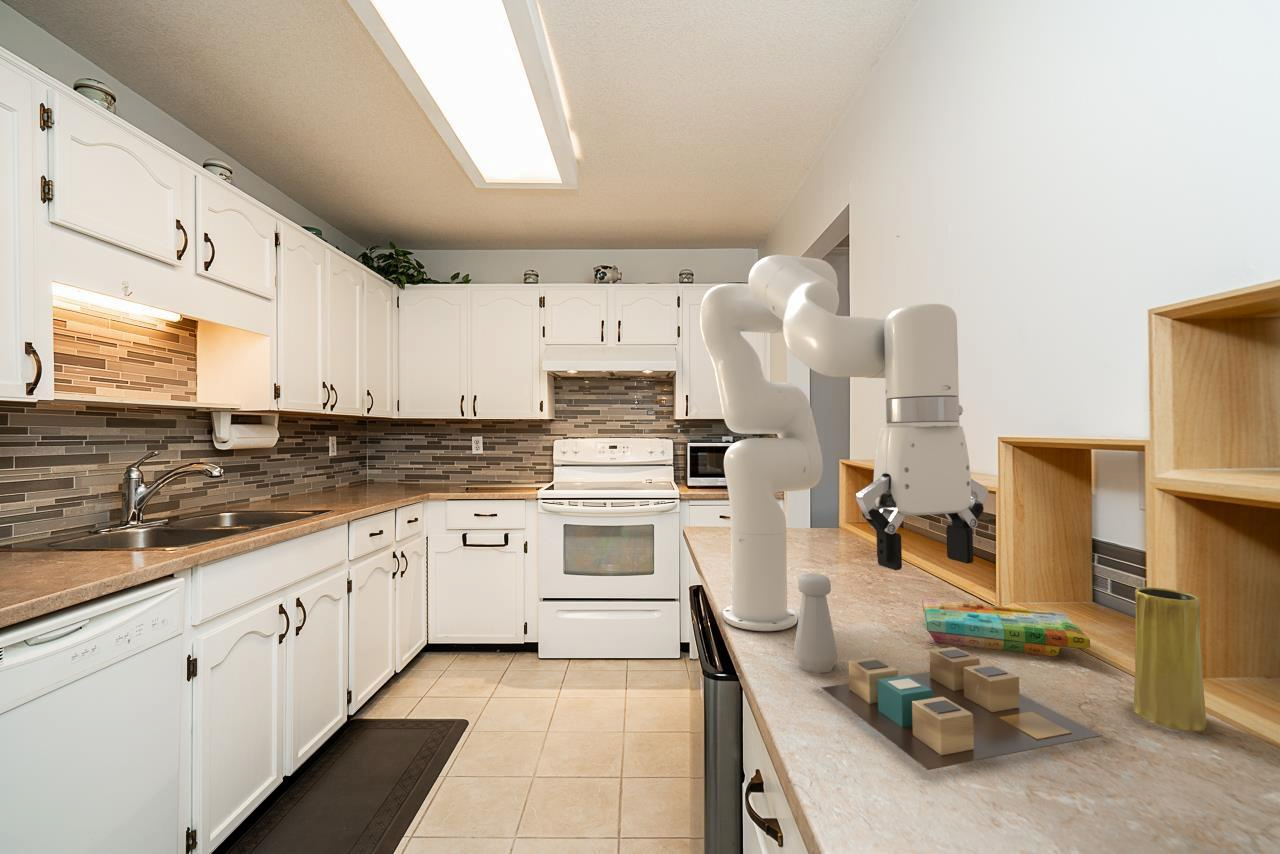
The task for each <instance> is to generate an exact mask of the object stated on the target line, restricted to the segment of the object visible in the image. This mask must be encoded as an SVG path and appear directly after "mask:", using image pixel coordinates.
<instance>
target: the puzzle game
mask: <svg viewBox="0 0 1280 854" xmlns="http://www.w3.org/2000/svg"><path fill="white" fill-rule="evenodd" d="M921 609H922V614H923V619H924V622H925V627H926V631H927V632H928V634H929V635H930V636H931V639H933V642H934V643H942V644H950V645H958V646H967V647H974V648H984V649H990V650H998V651H1008V652H1015V653H1016V652H1017V653H1023V654H1033V655H1041V656H1047V657H1048V656H1049V657H1050V656H1051V657H1056V656H1057V655H1059V654H1060V649H1061V648H1062V649H1074V650H1075V649H1076V650H1087V649H1089V648H1091V640H1090V638H1089V637H1088V636H1087V635H1086V634H1085V633H1084V632H1083V631H1082V630H1081V629H1080V628H1079V627H1078V625H1076V624H1075V623H1074V622H1073V621H1072V620H1071V619H1070V618H1069V616H1067V615H1066V614H1065V613H1064V612H1054V611H1047V610H1045V611H1044V610H1036V609H1027V608H1017V607H1010V606H1009V607H1007V606H997V605H989V604H983V603H979V602H976V601H973V600H968V601H967V602H966V601H962V602H959V601H953V600H952V601H950V600H941V599H931V598H925V599H922V600H921Z"/></svg>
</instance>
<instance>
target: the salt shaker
mask: <svg viewBox="0 0 1280 854" xmlns="http://www.w3.org/2000/svg"><path fill="white" fill-rule="evenodd" d="M797 586H798V591H799V592H800V593H802V596H801V602H800V607H799V613H798V619H797V626H796V627H797V628H796V634H795V640H794V645H793V646H794V647H793V652H794V657H795V659H796V661H797V663H798V665H799V667H800V668H801V669H802V670H804V671H807V672H811V673H815V674H821V673H828V672H829V673H830V672H831V671H832V670H833V668H834V666H835V664H836V662H837V661H838V659H839V658H838V657H839V653H838V648H837V644H836V640H835V635H834V629H833V624H832V619H831V614H830V613H831V612H830V609H829V604H828V599H827V595H829V594H830V593H831V591H832V590H831V589H832V584H831V580H830V578H829V577H828V576H826V575H824V574H820V573H810V572H809V573H803V574H801V575H800V576H799V577H798V581H797Z"/></svg>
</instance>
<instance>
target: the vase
mask: <svg viewBox="0 0 1280 854" xmlns="http://www.w3.org/2000/svg"><path fill="white" fill-rule="evenodd" d="M1134 601H1135V602H1134V603H1135V605H1134V606H1135V623H1134V624H1135V626H1134V630H1135V631H1134V632H1135V633H1134V634H1135V635H1134V636H1135V637H1134V658H1135V659H1134V663H1135V665H1134V690H1133V707H1132V710H1133V712H1135V714H1137V715H1138V716H1139V717H1141V718H1143V719H1145V720H1147V721H1149V722H1152V723H1154V724H1156V725H1161V726H1165V727H1168V728H1171V729H1175V730H1180V731H1189V732H1196V731H1197V732H1198V731H1204V730H1205V729H1206V727H1207V726H1208V723H1207V716H1206V701H1205V700H1206V699H1205V689H1204V688H1205V687H1204V676H1203V674H1204V673H1203V661H1202V659H1203V658H1202V640H1201V607H1200V606H1201V603H1200V598H1199V597H1198V596H1197V595H1194V594H1193V593H1190V592H1189V593H1188V592H1186V591H1181V590H1178V589H1177V590H1176V589H1172V588H1171V589H1170V588H1163V587H1152V586H1151V587H1150V586H1144V587H1138V588H1136V589H1135V590H1134Z"/></svg>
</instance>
